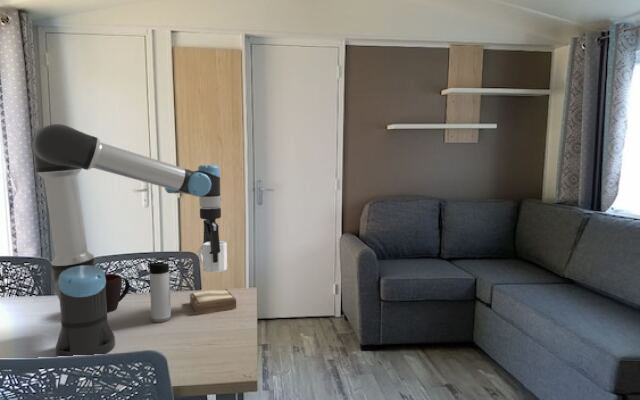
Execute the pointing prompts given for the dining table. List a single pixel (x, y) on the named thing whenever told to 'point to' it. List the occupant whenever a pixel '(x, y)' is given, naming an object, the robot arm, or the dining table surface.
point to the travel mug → (160, 292)
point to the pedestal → (212, 301)
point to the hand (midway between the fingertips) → (211, 267)
